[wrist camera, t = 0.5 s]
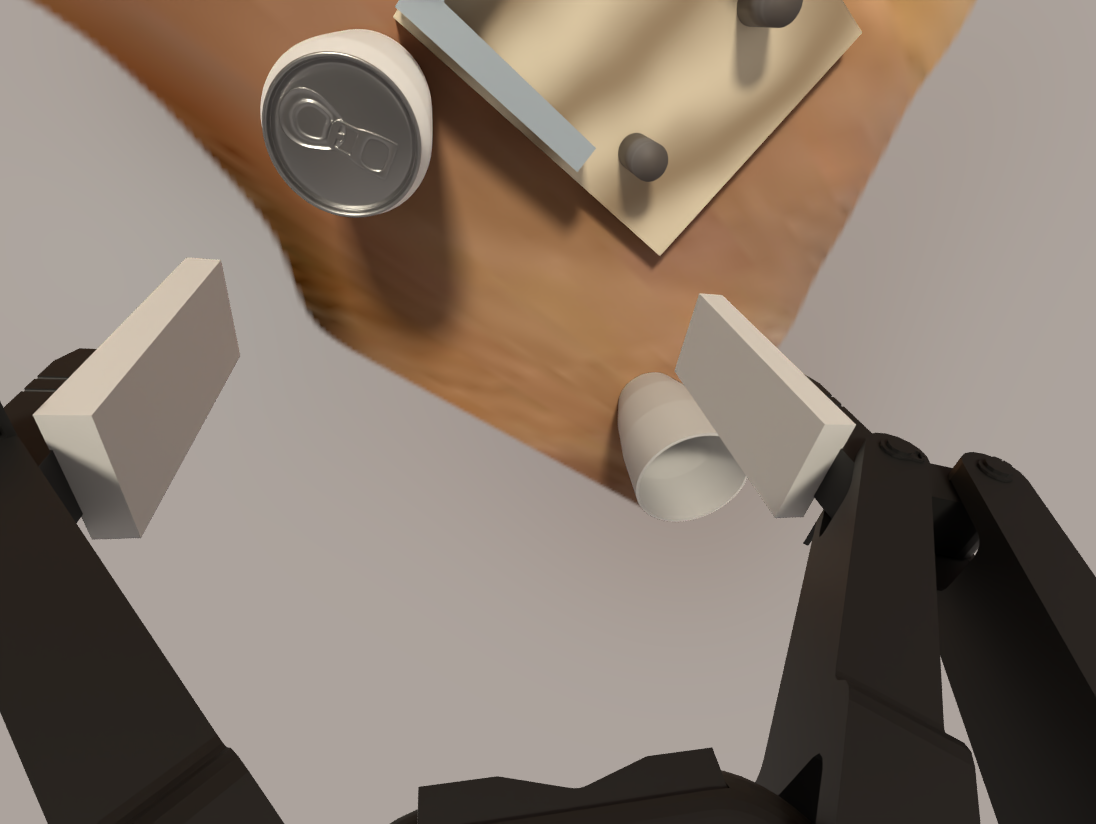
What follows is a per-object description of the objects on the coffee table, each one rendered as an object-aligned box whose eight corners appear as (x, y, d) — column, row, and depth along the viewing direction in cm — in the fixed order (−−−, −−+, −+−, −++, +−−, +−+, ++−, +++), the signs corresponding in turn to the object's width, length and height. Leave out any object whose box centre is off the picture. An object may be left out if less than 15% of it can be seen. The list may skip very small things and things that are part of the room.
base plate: (394, 17, 28) (389, 17, 24) (605, -354, 22) (639, -424, 19) (652, 248, 38) (675, 273, 34) (845, 31, 32) (898, 34, 28)
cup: (685, 433, 48) (735, 515, 40) (595, 440, 47) (629, 527, 39) (703, 352, 44) (764, 428, 36) (604, 358, 42) (644, 438, 34)
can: (329, -1, 27) (275, -9, 18) (451, 73, 30) (460, 101, 20) (293, 127, 30) (229, 180, 21) (406, 184, 33) (396, 255, 23)
